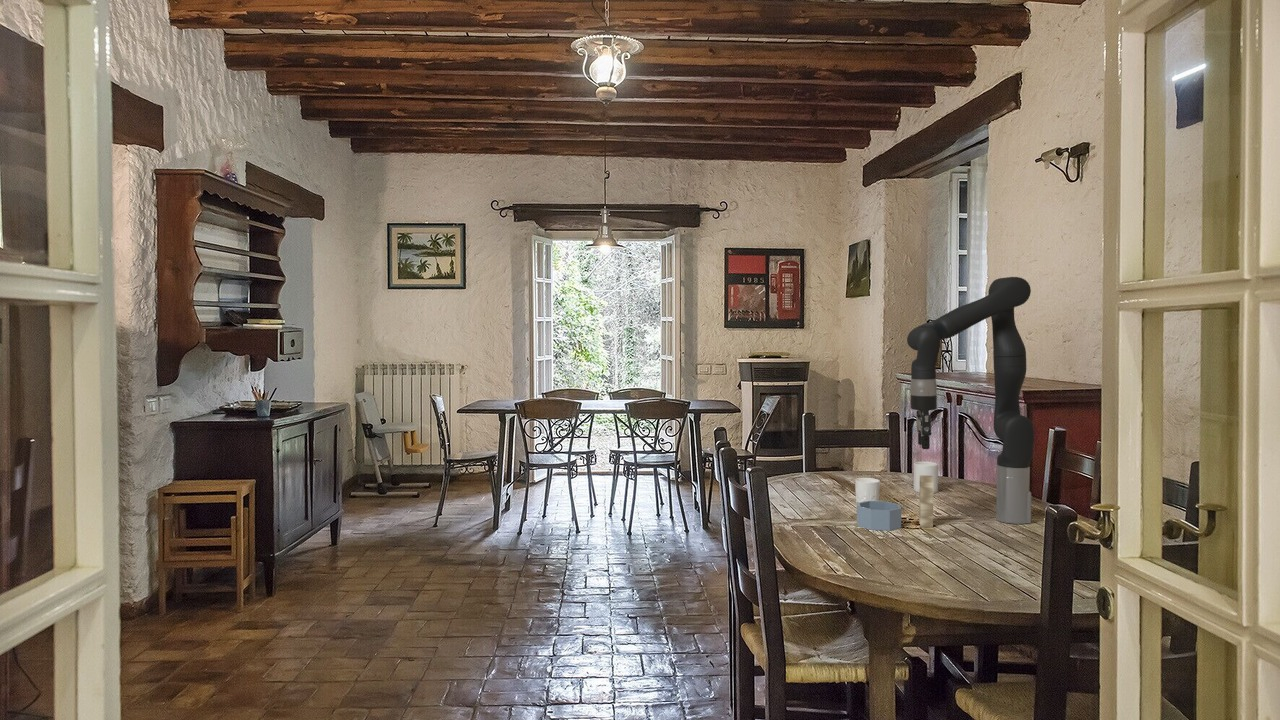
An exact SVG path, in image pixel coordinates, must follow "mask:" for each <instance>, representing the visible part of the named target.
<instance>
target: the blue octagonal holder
mask: <svg viewBox="0 0 1280 720" xmlns="http://www.w3.org/2000/svg"><path fill="white" fill-rule="evenodd" d="M856 524H857V527H860V528H863V529H867V530H871V531H883V532H884V531H888V532H891V531H896V530H900V529H902V507H901V505H900V504H898V503H896V502H895V503H894V502H891V501H886V500H879V501H863V502H858V503H857V504H856Z"/></svg>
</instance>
